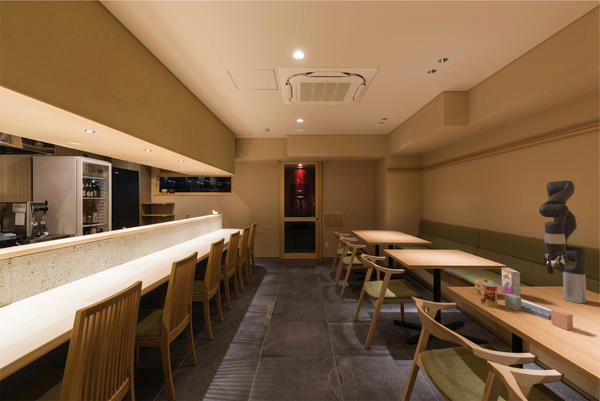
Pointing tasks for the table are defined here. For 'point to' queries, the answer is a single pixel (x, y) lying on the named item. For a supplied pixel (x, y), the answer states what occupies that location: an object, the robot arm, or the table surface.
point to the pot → (478, 285)
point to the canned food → (488, 294)
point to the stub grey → (513, 302)
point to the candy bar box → (511, 281)
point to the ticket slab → (536, 309)
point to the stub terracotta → (562, 319)
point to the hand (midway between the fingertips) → (556, 272)
